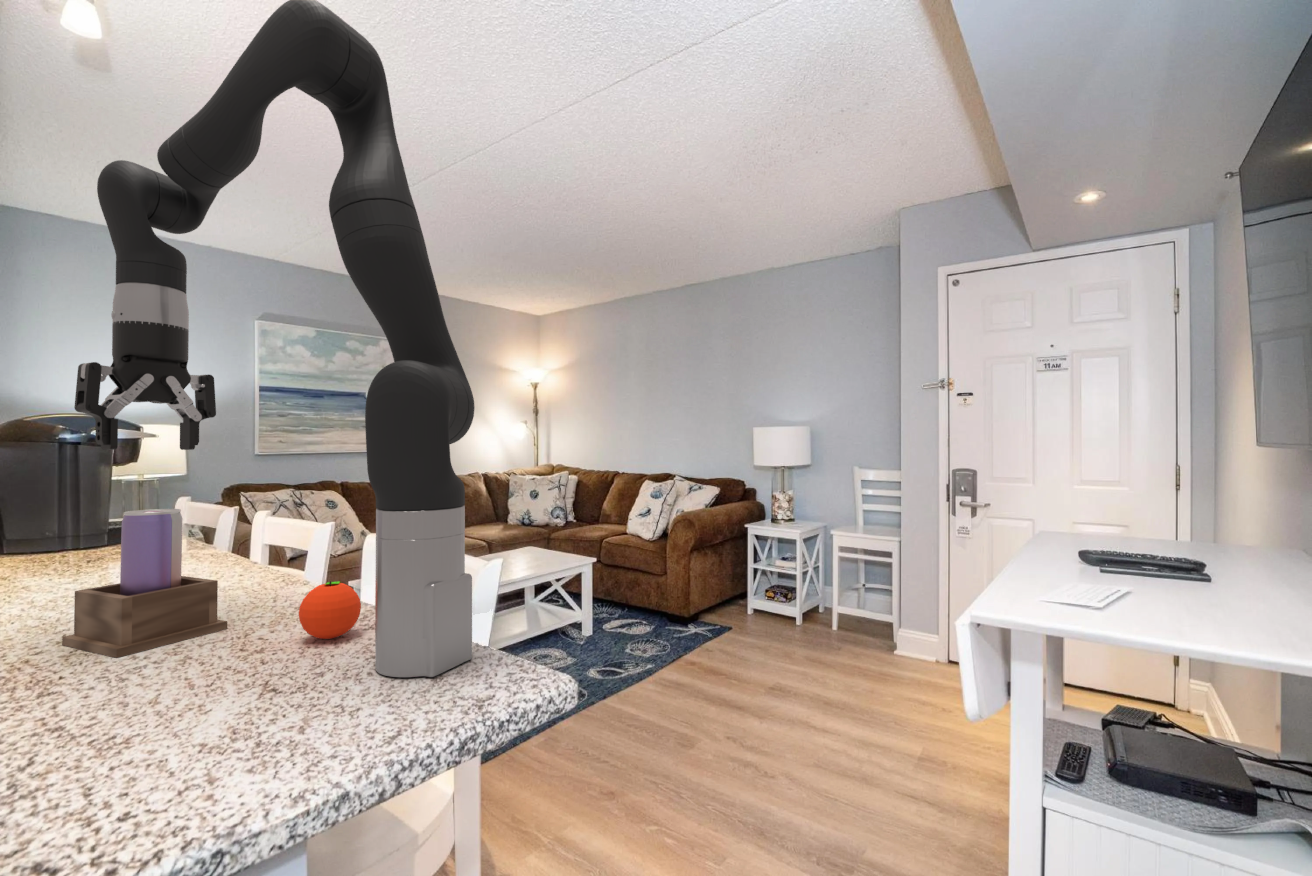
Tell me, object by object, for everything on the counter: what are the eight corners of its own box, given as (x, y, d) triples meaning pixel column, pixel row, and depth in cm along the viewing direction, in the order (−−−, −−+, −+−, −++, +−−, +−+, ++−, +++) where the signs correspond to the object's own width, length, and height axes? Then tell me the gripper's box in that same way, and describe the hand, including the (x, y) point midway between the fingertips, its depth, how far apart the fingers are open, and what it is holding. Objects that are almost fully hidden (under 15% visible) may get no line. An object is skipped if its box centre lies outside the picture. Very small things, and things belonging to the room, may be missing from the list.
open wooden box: (227, 628, 79) (227, 579, 79) (116, 657, 68) (117, 601, 68) (173, 619, 84) (174, 573, 84) (62, 645, 73) (62, 591, 73)
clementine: (311, 629, 78) (312, 575, 78) (368, 625, 80) (368, 572, 80) (289, 649, 71) (290, 589, 71) (353, 644, 72) (353, 585, 72)
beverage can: (145, 635, 72) (148, 512, 73) (106, 633, 73) (109, 512, 74) (192, 622, 78) (194, 508, 79) (155, 620, 79) (157, 508, 80)
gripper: (98, 309, 69) (96, 449, 68) (228, 332, 82) (227, 449, 81) (64, 316, 71) (62, 450, 71) (195, 336, 85) (194, 449, 84)
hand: (150, 449), depth 76 cm, fingers open, 8 cm apart
